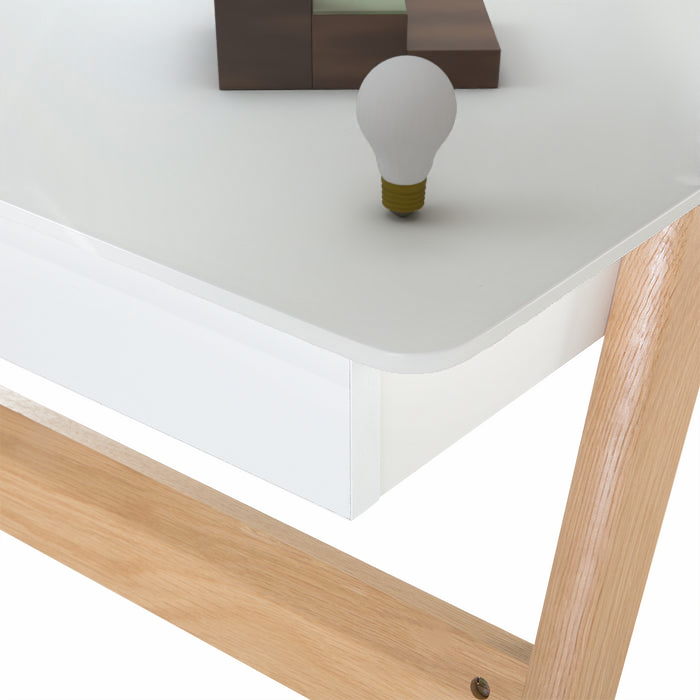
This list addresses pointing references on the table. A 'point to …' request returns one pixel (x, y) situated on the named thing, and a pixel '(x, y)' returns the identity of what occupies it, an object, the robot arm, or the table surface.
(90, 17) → the table surface
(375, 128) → the light bulb
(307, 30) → the stepped wooden block
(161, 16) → the table surface
